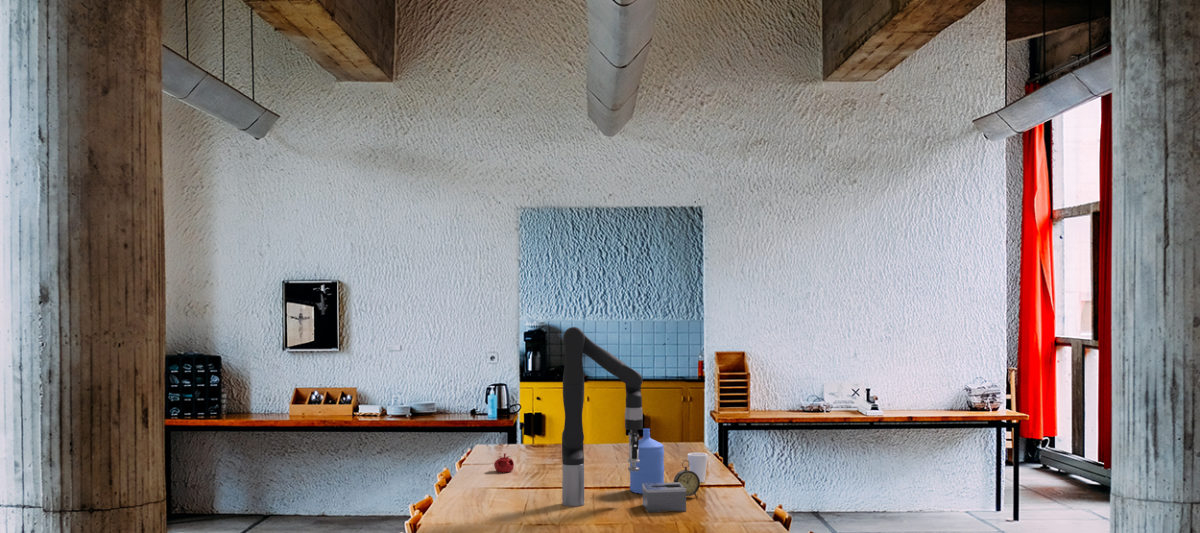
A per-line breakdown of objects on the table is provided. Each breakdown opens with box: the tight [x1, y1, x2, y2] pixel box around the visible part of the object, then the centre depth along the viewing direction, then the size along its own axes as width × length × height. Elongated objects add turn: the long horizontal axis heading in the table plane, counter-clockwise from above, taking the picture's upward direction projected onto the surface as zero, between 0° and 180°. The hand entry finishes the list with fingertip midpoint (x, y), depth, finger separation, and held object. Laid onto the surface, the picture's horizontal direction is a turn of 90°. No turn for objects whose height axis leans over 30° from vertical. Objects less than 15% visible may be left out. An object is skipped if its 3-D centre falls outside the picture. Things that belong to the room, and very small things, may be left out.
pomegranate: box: [493, 452, 515, 473], centre depth 460 cm, size 10×10×9 cm
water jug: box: [629, 428, 665, 495], centre depth 411 cm, size 16×16×28 cm
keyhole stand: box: [642, 481, 687, 513], centre depth 377 cm, size 16×14×9 cm
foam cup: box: [687, 452, 709, 483], centre depth 430 cm, size 10×9×13 cm
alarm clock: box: [673, 459, 701, 498], centre depth 396 cm, size 11×5×16 cm, turn 105°
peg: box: [627, 444, 640, 472], centre depth 388 cm, size 5×5×10 cm
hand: (633, 457), depth 388 cm, fingers closed on peg, 4 cm apart
